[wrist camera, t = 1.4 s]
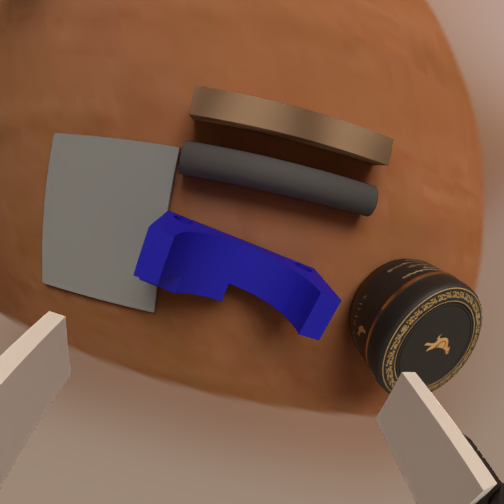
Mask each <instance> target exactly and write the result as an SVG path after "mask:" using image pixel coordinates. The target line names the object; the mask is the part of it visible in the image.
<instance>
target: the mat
mask: <svg viewBox="0 0 504 504" xmlns="http://www.w3.org/2000/svg"><path fill="white" fill-rule="evenodd" d="M180 149H181V148H180V147H174V146H168V145H161V144H155V143H148V142H140V141H133V140H125V139H116V138H107V137H97V136H87V135H75V134H61V133H54V137H53V142H52V148H51V154H50V161H49V167H48V175H47V183H46V193H45V204H44V218H43V242H42V271H43V283H45V284H48V285H51V286H54V287H58V288H61V289H64V290H68V291H71V292H75V293H78V294H82V295H85V296H89V297H93V298H96V299H100V300H104V301H108V302H112V303H115V304H119V305H123V306H127V307H132V308H136V309H140V310H144V311H149V312H153V313H154V312H155V308H156V298H157V289H158V287H157V286H154V285H152V284H149V283H147V282H144V281H142V280H139V277H136V276H134V271H135V268H136V265H137V262H138V258H139V255H140V252H141V249H142V246H143V243H144V240H145V237H146V234H147V231H148V228H149V226H150V225H151V224H152V223H154V222H155V221H156V220H157V219H158V218H160V217H161V216H162V215H163V214H164V213H166V212H167V211H169V206H170V200H171V194H172V189H173V184H174V178H175V173H176V168H177V163H178V159H179V154H180Z"/></svg>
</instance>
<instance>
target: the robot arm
mask: <svg viewBox="0 0 504 504" xmlns="http://www.w3.org/2000/svg"><path fill="white" fill-rule="evenodd" d="M70 375H71V369H70V362H69V352H68V342H67V331H66V317H65V316H62V315H59V314H56V313H53V312H50V311H49V312H48V313H46V314H45V315H44V316H43V317H42V318H41V319H40V320H38V321H37V322H36V323H35V324H34V325H33V326H32V327H31V328H30V329H29V330H27V331H26V332H25V333H24V334H23V335H22V336H21V337H20V338H19V339H18V340H17V341H16V342H15V343H13V344H12V345H11V346H10V348H8V349H7V350H6V351H5V352H4V353H3V354H2V355H1V356H0V488H1V487H2V485H3V483H4V481H5V479H6V477H7V476H8V474H9V472H10V470H11V468H12V466H13V465H14V463H15V461H16V460H17V458H18V456H19V454H20V453H21V451H22V449H23V448H24V446H25V444H26V443H27V441H28V439H29V438H30V436H31V434H32V433H33V431H34V430H35V428H36V426H37V425H38V423H39V422H40V420H41V419H42V417H43V415H44V414H45V412H46V410H47V409H48V408H49V406H50V405H51V403H52V402H53V400H54V398H55V397H56V396H57V394H58V393H59V391H60V390H61V388H62V387H63V385H64V384H65V382H66V381H67V379H68V378H69V377H70ZM375 420H376V422H377V424H378V426H379V428H380V430H381V432H382V434H383V436H384V438H385V440H386V442H387V444H388V446H389V448H390V450H391V452H392V454H393V456H394V458H395V460H396V462H397V464H398V466H399V469H400V471H401V473H402V475H403V477H404V479H405V481H406V483H407V485H408V487H409V489H410V491H411V493H412V495H413V498H414V500H415V502H416V504H504V483H502V482H501V481H500V480H499V479H498V477H497V476H496V474H495V473H494V471H493V470H492V468H491V467H490V465H489V464H488V463H487V461H486V460H485V458H482V454H481V453H480V451H477V447H476V446H475V445H474V443H473V442H472V441H471V439H469V438H468V437H467V436H466V435H464V434H463V433H461V431H460V430H459V429H458V427H457V426H456V424H455V423H454V422H453V420H452V419H451V418H450V417H449V415H448V414H447V412H446V411H445V410H444V408H443V407H442V406H441V404H440V403H439V402H438V401H437V399H436V398H435V397H434V395H433V394H432V393H431V391H430V390H429V389H428V388H427V386H426V385H425V384H424V383H423V381H422V380H421V379H420V377H419V376H418V375H417V374H416V372H401V374H400V376H399V378H398V380H397V382H396V384H395V386H394V388H393V389H392V391H391V393H390V395H389V397H388V398H387V400H386V402H385V404H384V405H383V407H382V409H381V410H380V412H379V414H378V415H377V417H376V419H375Z"/></svg>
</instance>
